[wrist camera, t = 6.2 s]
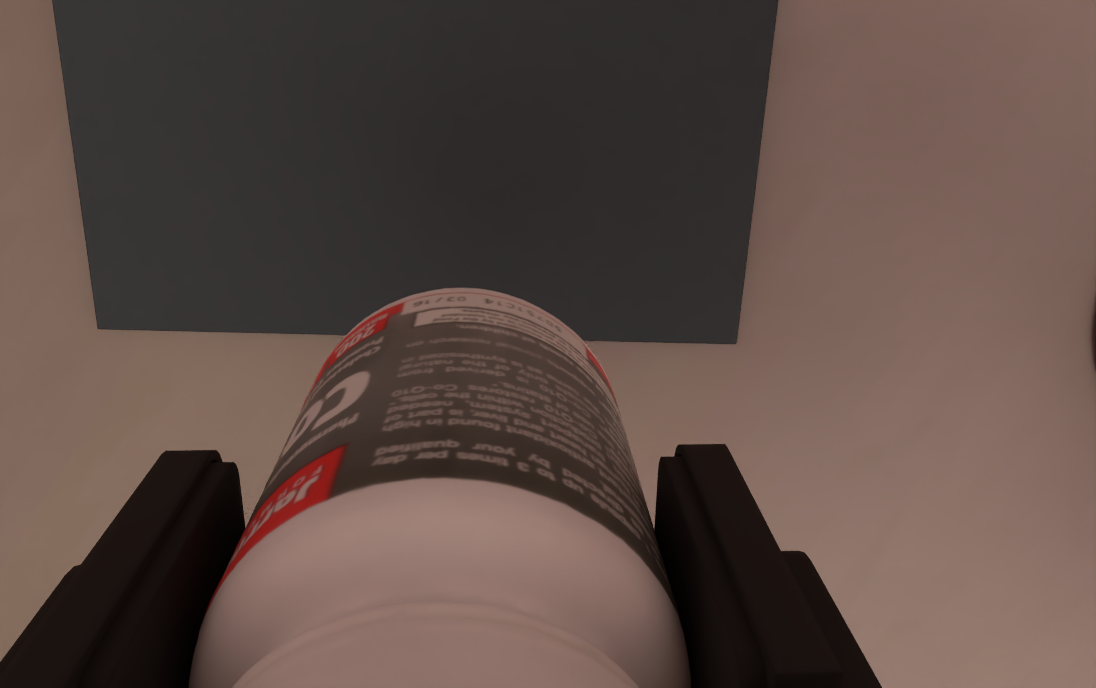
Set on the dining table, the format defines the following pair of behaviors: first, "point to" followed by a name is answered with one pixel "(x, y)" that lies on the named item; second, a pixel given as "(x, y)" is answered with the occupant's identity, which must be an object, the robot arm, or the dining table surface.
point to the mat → (417, 159)
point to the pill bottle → (450, 520)
